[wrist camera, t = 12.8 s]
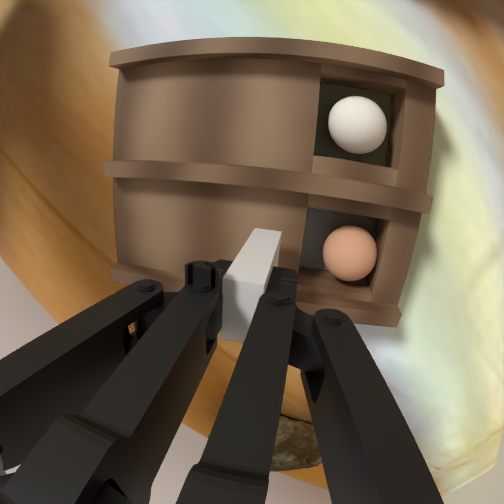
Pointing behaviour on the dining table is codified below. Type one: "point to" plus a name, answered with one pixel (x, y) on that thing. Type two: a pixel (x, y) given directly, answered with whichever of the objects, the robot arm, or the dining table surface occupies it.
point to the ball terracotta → (350, 253)
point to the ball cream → (357, 124)
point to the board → (263, 161)
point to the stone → (295, 446)
